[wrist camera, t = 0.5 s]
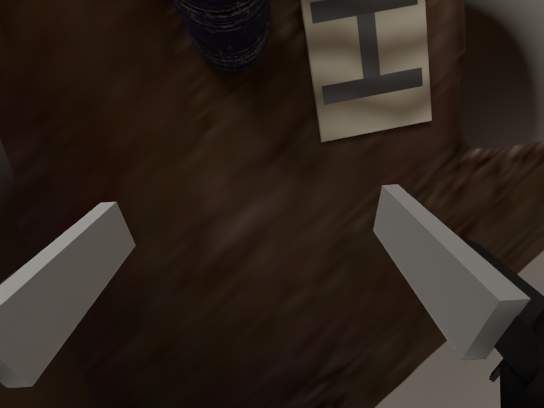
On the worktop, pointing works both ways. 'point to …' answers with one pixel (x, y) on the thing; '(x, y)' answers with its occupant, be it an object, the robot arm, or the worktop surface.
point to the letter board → (367, 64)
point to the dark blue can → (227, 30)
